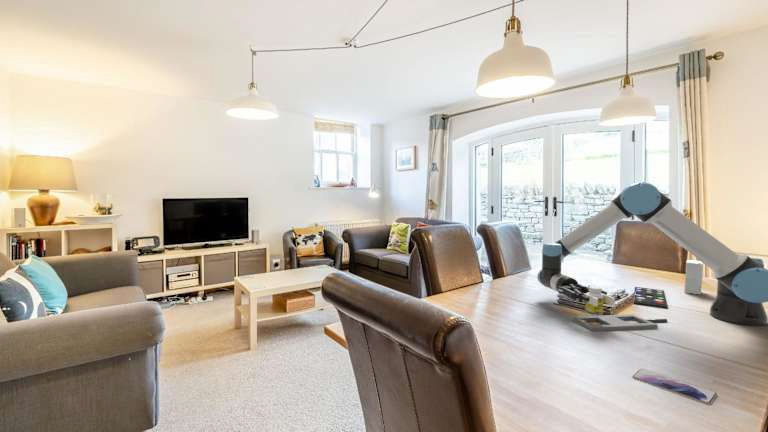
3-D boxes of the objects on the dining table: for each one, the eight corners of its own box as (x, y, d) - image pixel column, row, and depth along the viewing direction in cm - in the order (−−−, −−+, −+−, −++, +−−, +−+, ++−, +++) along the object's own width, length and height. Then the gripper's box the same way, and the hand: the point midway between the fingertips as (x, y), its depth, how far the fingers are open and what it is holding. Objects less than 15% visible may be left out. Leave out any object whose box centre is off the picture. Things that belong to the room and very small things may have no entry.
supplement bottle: (594, 317, 123) (595, 289, 122) (581, 312, 128) (582, 285, 127) (606, 316, 124) (607, 288, 124) (593, 311, 129) (594, 284, 129)
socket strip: (653, 316, 134) (653, 312, 134) (680, 327, 123) (680, 322, 123) (572, 319, 131) (572, 315, 131) (592, 331, 120) (592, 326, 120)
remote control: (633, 305, 150) (633, 300, 150) (634, 289, 174) (634, 285, 174) (667, 310, 143) (667, 305, 143) (663, 293, 168) (663, 289, 167)
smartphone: (710, 403, 77) (631, 376, 89) (710, 407, 77) (631, 379, 89) (718, 392, 81) (641, 367, 94) (717, 396, 82) (641, 370, 94)
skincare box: (684, 289, 172) (685, 259, 171) (701, 291, 168) (702, 260, 167) (684, 293, 165) (685, 261, 165) (701, 295, 161) (702, 263, 161)
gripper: (585, 293, 145) (630, 312, 121) (542, 294, 143) (579, 313, 120) (586, 275, 144) (630, 290, 121) (543, 276, 142) (580, 292, 119)
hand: (605, 302), depth 120 cm, fingers closed on supplement bottle, 5 cm apart
